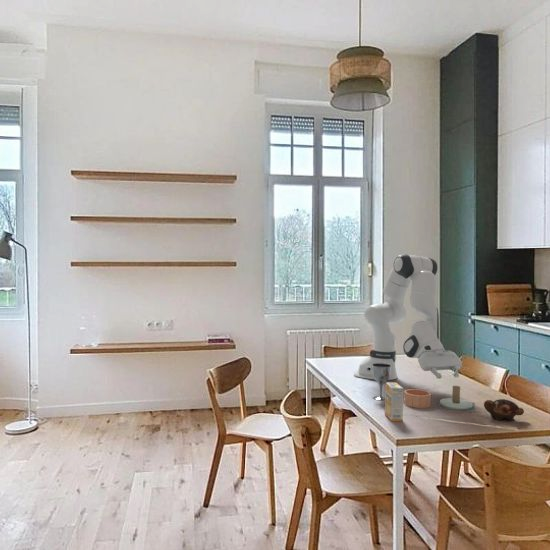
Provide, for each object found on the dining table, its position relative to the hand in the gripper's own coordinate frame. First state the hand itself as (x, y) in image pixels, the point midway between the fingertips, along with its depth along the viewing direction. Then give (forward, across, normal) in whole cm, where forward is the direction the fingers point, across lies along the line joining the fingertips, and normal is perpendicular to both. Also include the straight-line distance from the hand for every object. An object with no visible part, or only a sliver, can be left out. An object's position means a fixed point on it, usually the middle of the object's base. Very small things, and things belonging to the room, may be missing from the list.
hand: (448, 377), depth 214 cm
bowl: (+7, +14, -10) cm, 19 cm away
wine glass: (-3, +24, -20) cm, 31 cm away
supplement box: (+15, +34, -2) cm, 38 cm away
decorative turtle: (+26, -6, +9) cm, 28 cm away
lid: (+11, 0, -4) cm, 12 cm away
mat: (+12, 0, -5) cm, 12 cm away
